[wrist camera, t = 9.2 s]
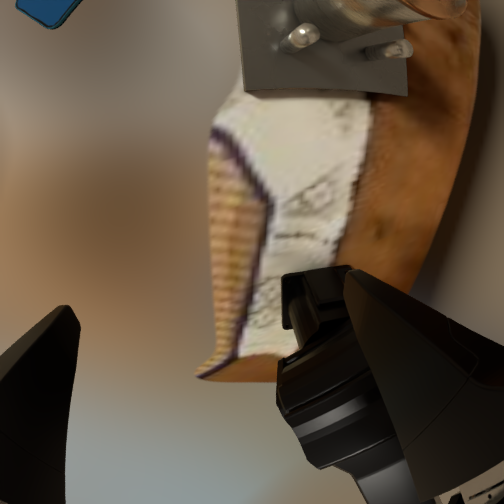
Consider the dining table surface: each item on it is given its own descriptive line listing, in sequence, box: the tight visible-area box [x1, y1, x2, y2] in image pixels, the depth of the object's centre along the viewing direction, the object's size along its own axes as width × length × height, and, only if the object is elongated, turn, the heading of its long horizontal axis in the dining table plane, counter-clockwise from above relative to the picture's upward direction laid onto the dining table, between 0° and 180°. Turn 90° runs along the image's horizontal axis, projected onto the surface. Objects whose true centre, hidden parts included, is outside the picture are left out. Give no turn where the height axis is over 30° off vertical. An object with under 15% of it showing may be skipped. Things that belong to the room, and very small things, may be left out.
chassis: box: [235, 0, 413, 97], centre depth 11 cm, size 12×12×5 cm
